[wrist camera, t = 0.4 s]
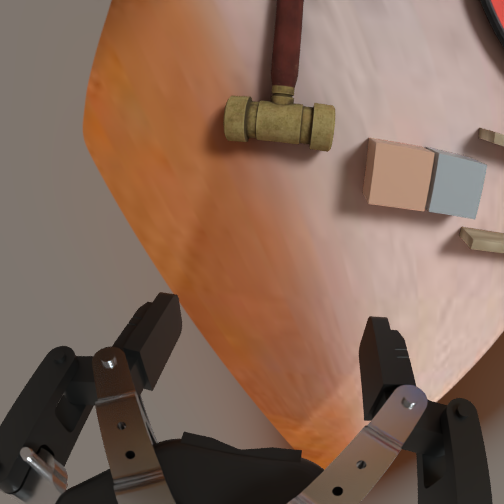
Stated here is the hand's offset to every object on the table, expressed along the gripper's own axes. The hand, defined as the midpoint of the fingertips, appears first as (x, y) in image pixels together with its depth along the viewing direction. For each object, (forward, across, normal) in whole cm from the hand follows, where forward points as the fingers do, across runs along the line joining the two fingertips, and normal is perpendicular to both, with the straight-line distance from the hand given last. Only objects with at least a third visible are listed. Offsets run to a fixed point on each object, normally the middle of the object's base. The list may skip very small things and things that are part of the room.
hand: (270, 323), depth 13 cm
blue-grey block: (+23, -17, -2) cm, 28 cm away
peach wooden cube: (+23, -10, -2) cm, 25 cm away
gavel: (+23, +1, -14) cm, 27 cm away
